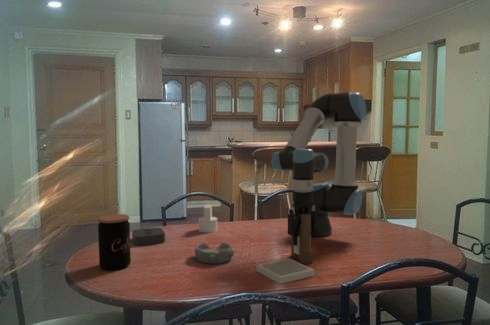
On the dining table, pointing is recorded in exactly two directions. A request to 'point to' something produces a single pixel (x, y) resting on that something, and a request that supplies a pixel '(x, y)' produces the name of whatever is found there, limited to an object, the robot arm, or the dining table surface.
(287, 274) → the stand
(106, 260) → the coffee jar
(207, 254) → the dish
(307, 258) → the wooden block
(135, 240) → the streaming box
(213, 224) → the base with upright slab
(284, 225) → the dining table surface
